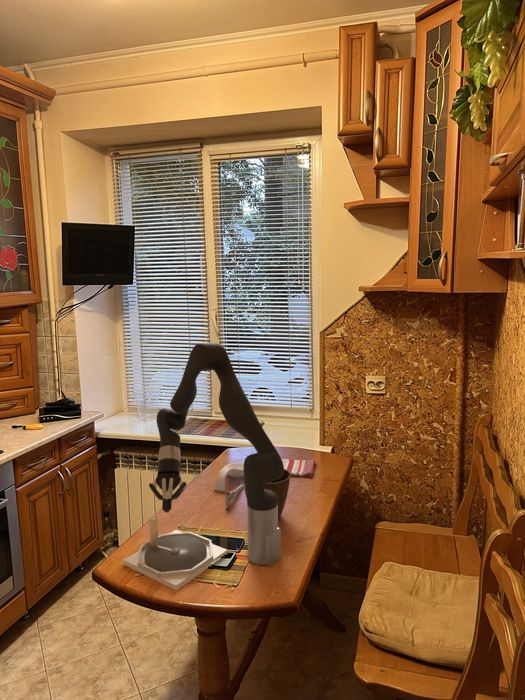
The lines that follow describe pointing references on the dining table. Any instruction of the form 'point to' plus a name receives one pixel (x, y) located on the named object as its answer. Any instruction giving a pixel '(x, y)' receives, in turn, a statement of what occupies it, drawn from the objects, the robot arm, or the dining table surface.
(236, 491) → the caliper
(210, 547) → the dial plate
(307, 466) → the dish towel
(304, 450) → the dining table surface
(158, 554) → the dial
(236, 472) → the spoon rest
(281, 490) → the plant pot
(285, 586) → the dining table surface
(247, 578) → the dining table surface
